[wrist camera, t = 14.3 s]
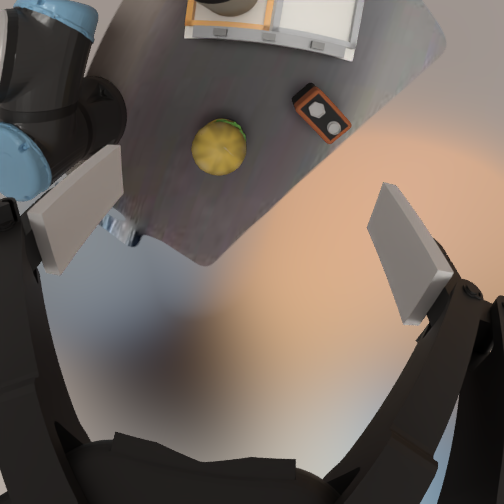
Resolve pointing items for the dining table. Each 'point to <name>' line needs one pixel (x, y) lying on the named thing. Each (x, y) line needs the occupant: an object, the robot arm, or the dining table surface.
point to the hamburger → (219, 147)
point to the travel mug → (228, 6)
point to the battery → (320, 113)
